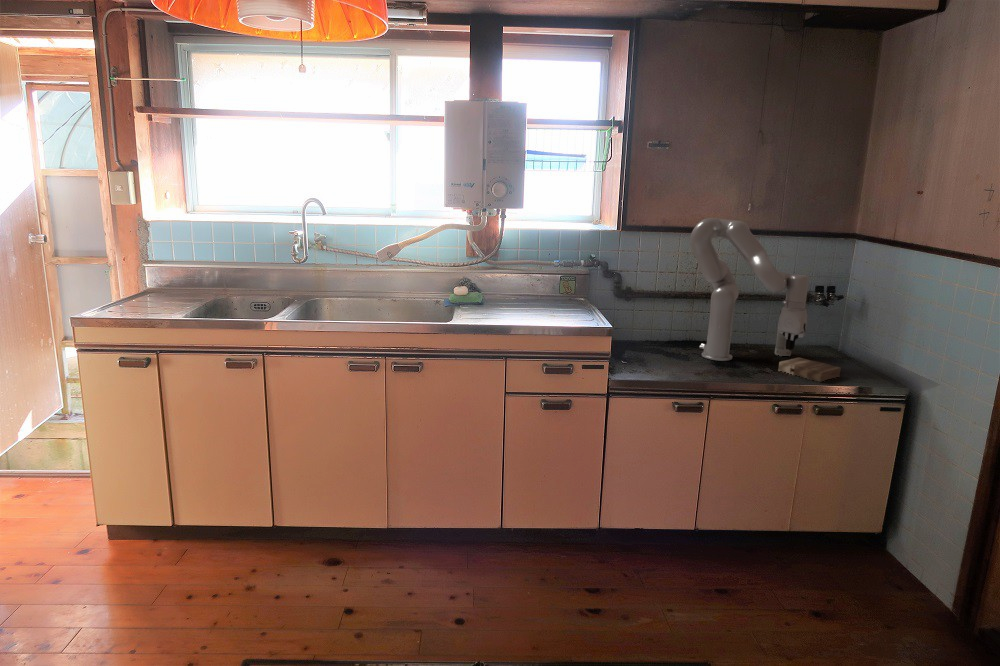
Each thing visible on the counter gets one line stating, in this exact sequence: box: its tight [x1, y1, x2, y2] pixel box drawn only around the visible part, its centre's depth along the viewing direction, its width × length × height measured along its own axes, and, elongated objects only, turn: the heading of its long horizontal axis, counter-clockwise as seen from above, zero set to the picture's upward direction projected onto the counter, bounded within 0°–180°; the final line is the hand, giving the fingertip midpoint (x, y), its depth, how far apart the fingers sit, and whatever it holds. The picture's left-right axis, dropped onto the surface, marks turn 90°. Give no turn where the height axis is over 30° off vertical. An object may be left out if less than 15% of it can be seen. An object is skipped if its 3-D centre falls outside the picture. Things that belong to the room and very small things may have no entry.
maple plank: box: [777, 357, 812, 376], centre depth 265 cm, size 6×14×4 cm, turn 125°
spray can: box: [774, 310, 792, 357], centre depth 286 cm, size 7×7×20 cm
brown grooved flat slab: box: [792, 360, 842, 382], centre depth 258 cm, size 12×14×4 cm
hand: (789, 349), depth 267 cm, fingers closed
